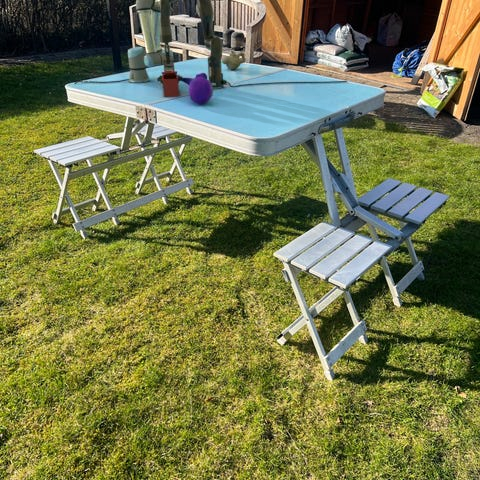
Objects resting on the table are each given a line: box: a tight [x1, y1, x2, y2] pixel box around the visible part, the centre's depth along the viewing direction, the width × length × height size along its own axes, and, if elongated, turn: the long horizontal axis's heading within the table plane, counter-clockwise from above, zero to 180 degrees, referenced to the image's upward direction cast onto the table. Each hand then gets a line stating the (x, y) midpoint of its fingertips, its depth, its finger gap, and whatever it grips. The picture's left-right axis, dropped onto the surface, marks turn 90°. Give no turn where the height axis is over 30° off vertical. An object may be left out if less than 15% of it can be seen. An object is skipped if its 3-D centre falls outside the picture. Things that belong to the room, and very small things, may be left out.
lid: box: [161, 58, 178, 76], centre depth 292 cm, size 18×10×8 cm, turn 8°
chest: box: [161, 73, 180, 98], centre depth 297 cm, size 17×10×11 cm, turn 9°
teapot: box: [221, 49, 246, 71], centre depth 371 cm, size 21×12×15 cm, turn 120°
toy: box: [178, 72, 214, 105], centre depth 275 cm, size 16×18×27 cm
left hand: (170, 81), depth 301 cm, fingers closed on chest, 10 cm apart
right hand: (168, 63), depth 286 cm, fingers closed on lid
